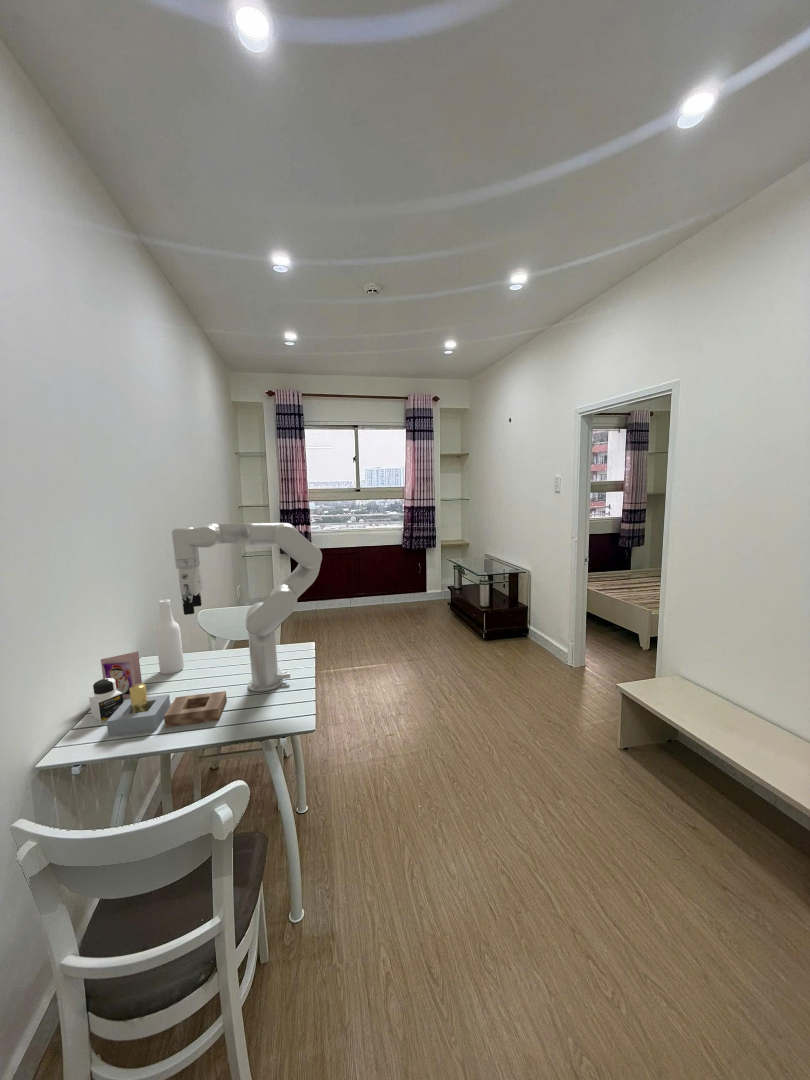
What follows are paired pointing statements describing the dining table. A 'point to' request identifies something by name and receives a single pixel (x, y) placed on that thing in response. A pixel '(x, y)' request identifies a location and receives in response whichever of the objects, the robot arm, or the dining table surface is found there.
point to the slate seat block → (138, 717)
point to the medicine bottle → (105, 699)
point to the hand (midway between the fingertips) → (193, 610)
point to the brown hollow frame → (195, 709)
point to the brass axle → (138, 698)
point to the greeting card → (123, 671)
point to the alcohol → (168, 641)
